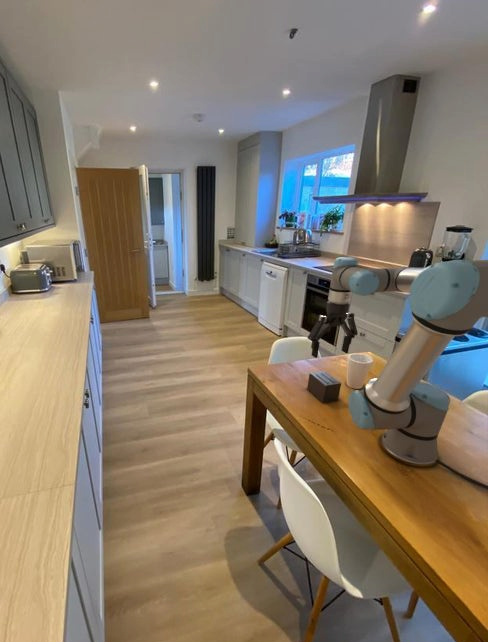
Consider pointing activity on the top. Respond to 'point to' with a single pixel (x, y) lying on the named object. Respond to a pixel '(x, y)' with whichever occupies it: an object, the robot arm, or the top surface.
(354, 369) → the foam cup
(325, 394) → the dark slotted box
